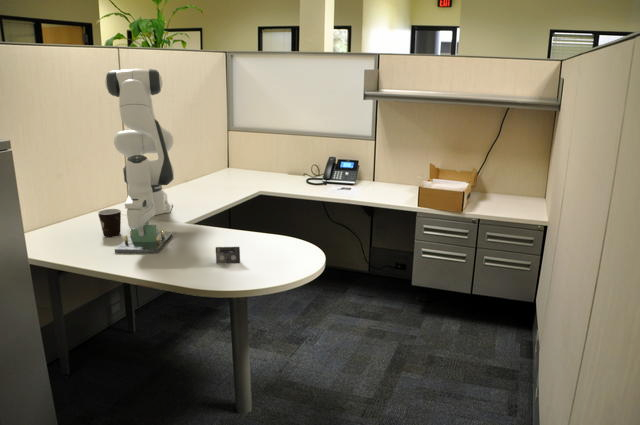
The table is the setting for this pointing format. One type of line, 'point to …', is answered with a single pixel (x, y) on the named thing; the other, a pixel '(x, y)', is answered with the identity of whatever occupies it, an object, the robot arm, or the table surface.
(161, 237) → the chassis plate
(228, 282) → the table surface
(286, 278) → the table surface
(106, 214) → the coffee mug
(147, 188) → the robot arm
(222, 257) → the mini dv tape
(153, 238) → the green block
